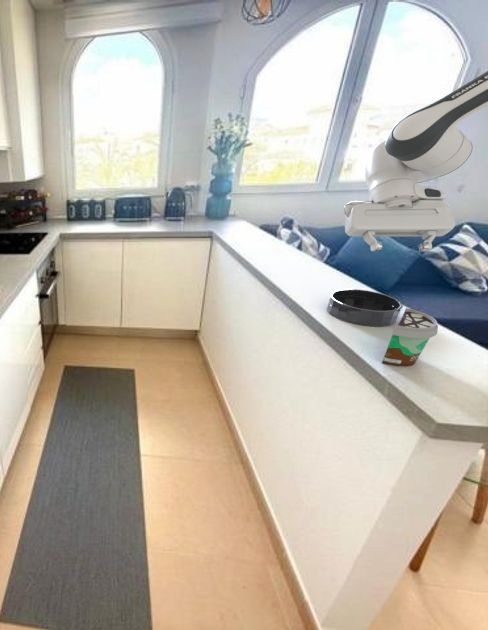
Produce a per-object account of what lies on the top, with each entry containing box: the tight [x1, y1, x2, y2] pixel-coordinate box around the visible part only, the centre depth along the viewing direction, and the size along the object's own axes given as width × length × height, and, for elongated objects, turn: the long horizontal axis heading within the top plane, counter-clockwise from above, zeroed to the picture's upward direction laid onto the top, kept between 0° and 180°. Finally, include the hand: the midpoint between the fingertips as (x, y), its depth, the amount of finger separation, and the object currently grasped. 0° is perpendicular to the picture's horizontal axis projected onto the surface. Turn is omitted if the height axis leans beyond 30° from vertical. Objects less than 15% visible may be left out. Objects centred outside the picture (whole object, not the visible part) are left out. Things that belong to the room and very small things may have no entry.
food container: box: [381, 307, 439, 367], centre depth 75 cm, size 12×6×10 cm, turn 131°
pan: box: [326, 288, 404, 328], centre depth 97 cm, size 16×16×4 cm
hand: (400, 250), depth 80 cm, fingers open, 8 cm apart
